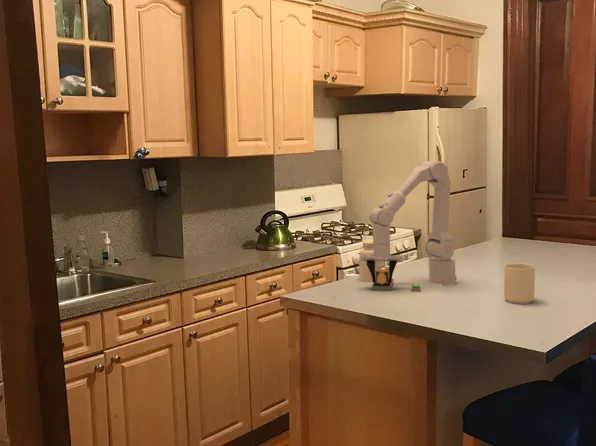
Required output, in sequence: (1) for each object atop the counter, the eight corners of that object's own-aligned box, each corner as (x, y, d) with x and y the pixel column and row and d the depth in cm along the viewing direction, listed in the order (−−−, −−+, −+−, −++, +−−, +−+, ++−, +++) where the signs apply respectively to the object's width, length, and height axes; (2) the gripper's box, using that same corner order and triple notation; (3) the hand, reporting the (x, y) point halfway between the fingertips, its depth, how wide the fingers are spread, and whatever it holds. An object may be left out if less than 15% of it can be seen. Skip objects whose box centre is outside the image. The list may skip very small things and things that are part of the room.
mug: (534, 305, 195) (534, 269, 194) (503, 303, 198) (504, 268, 197) (534, 296, 206) (534, 262, 205) (505, 294, 209) (505, 261, 208)
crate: (394, 285, 227) (394, 278, 227) (391, 293, 215) (391, 286, 215) (375, 285, 229) (375, 278, 228) (371, 293, 217) (371, 285, 216)
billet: (389, 289, 217) (389, 272, 216) (378, 290, 216) (378, 272, 216) (385, 286, 221) (385, 269, 220) (374, 287, 220) (374, 270, 219)
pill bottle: (380, 284, 229) (380, 243, 227) (358, 284, 231) (357, 243, 229) (382, 279, 237) (381, 240, 235) (360, 279, 239) (359, 240, 237)
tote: (418, 286, 224) (418, 283, 224) (417, 292, 216) (417, 288, 216) (395, 286, 226) (395, 283, 226) (394, 291, 218) (394, 288, 218)
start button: (419, 291, 215) (419, 283, 215) (419, 293, 213) (419, 285, 213) (412, 291, 216) (412, 283, 215) (412, 293, 213) (412, 285, 213)
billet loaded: (390, 283, 226) (390, 266, 225) (389, 285, 222) (389, 269, 222) (378, 283, 227) (378, 266, 226) (377, 285, 223) (377, 268, 222)
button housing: (420, 292, 216) (420, 286, 215) (420, 294, 213) (420, 288, 212) (411, 292, 216) (411, 286, 216) (411, 294, 213) (411, 288, 213)
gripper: (358, 244, 215) (359, 284, 216) (402, 245, 211) (402, 285, 213) (361, 241, 222) (362, 279, 223) (403, 241, 218) (404, 280, 220)
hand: (382, 282), depth 219 cm, fingers open, 5 cm apart
